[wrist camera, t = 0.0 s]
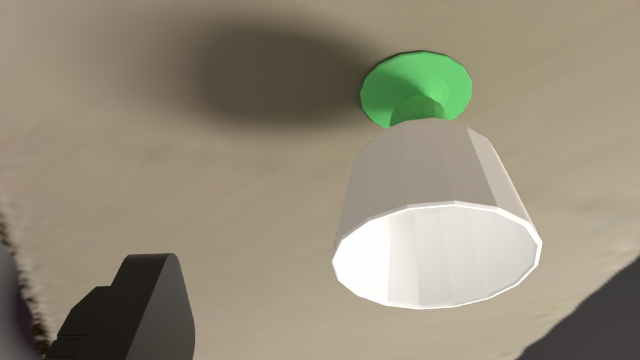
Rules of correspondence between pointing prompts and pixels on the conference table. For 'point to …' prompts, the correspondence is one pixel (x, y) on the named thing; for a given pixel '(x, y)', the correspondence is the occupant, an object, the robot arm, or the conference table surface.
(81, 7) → the conference table surface
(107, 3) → the conference table surface
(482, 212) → the cup
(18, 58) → the conference table surface
